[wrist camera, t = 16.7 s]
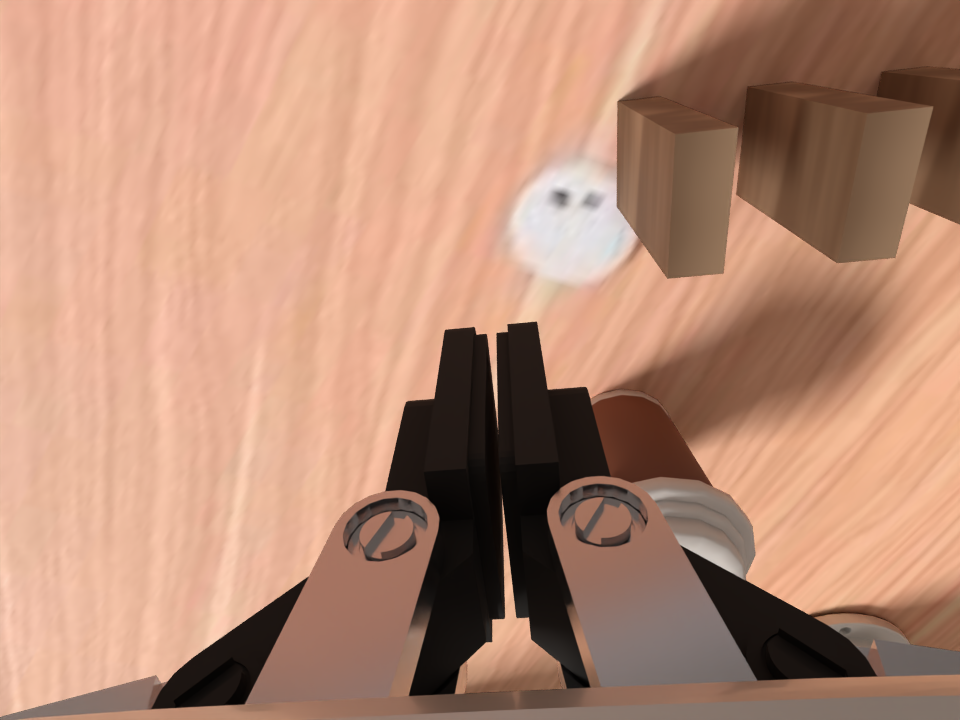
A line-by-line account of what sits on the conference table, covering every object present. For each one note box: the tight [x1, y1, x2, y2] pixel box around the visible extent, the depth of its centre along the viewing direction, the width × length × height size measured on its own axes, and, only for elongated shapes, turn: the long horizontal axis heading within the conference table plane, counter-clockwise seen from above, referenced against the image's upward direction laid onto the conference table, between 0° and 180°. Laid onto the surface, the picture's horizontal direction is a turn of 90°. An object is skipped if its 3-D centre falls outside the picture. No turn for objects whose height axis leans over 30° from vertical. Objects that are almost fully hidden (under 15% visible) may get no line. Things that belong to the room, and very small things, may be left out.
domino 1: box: [617, 96, 738, 279], centre depth 24 cm, size 2×5×10 cm, turn 6°
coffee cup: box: [590, 389, 755, 580], centre depth 32 cm, size 9×9×12 cm
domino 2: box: [736, 82, 933, 263], centre depth 24 cm, size 2×5×10 cm, turn 6°
